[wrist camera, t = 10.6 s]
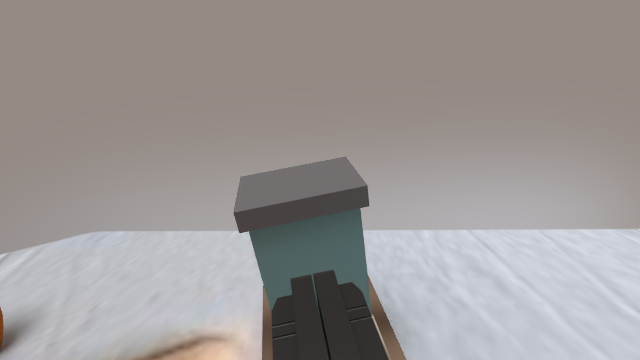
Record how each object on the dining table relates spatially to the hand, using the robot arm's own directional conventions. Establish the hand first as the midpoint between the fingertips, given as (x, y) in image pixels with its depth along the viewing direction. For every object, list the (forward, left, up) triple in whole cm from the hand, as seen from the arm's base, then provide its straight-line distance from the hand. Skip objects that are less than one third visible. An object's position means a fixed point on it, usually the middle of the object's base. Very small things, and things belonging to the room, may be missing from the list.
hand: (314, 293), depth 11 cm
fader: (-4, +7, -12) cm, 15 cm away
